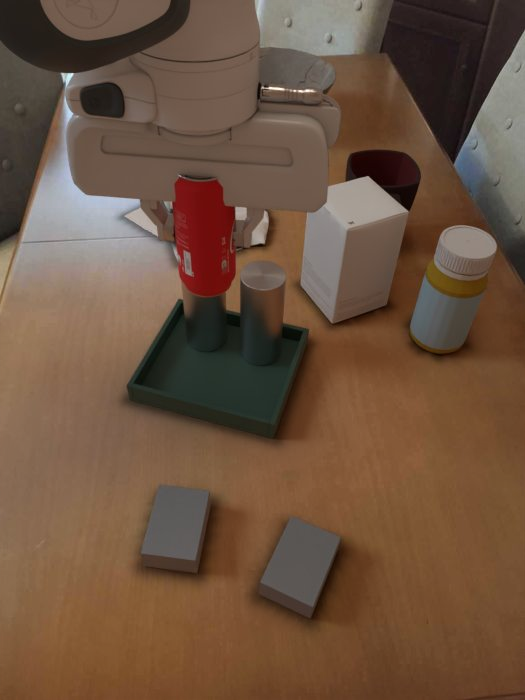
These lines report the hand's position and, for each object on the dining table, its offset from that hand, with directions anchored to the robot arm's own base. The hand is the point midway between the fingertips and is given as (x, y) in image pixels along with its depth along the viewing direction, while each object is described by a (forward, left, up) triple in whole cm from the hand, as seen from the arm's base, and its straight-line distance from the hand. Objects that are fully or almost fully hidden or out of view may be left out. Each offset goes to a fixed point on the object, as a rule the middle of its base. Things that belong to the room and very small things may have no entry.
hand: (205, 240), depth 52 cm
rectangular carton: (+10, +23, -23) cm, 34 cm away
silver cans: (-1, +9, -22) cm, 24 cm away
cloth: (-15, +33, -23) cm, 42 cm away
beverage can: (0, 0, -5) cm, 5 cm away
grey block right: (+14, -16, -23) cm, 31 cm away
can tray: (-1, +5, -23) cm, 23 cm away
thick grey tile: (+2, -16, -23) cm, 28 cm away
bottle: (+23, +19, -23) cm, 38 cm away
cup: (+12, +35, -23) cm, 43 cm away
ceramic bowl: (-13, +67, -23) cm, 72 cm away
